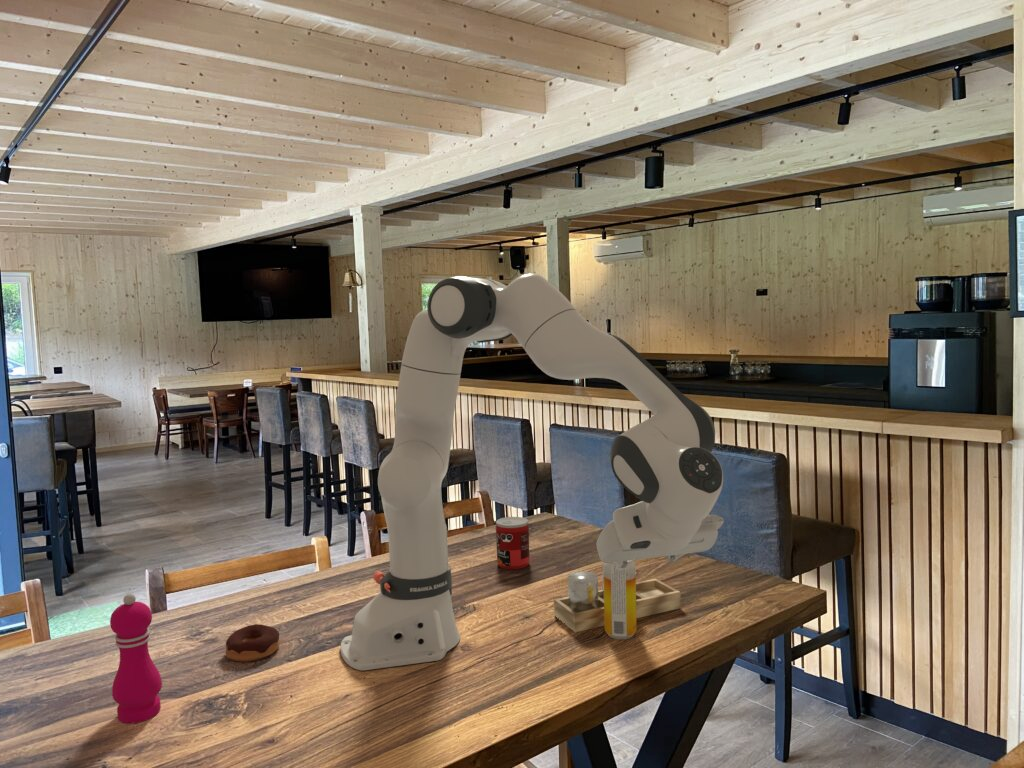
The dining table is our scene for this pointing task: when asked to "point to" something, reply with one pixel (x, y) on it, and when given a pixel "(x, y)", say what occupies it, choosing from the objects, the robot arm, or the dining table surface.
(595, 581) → the seated canisters
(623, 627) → the beer can
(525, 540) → the canned food
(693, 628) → the dining table surface
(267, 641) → the donut
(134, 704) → the pepper mill
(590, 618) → the compartment tray
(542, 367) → the robot arm
